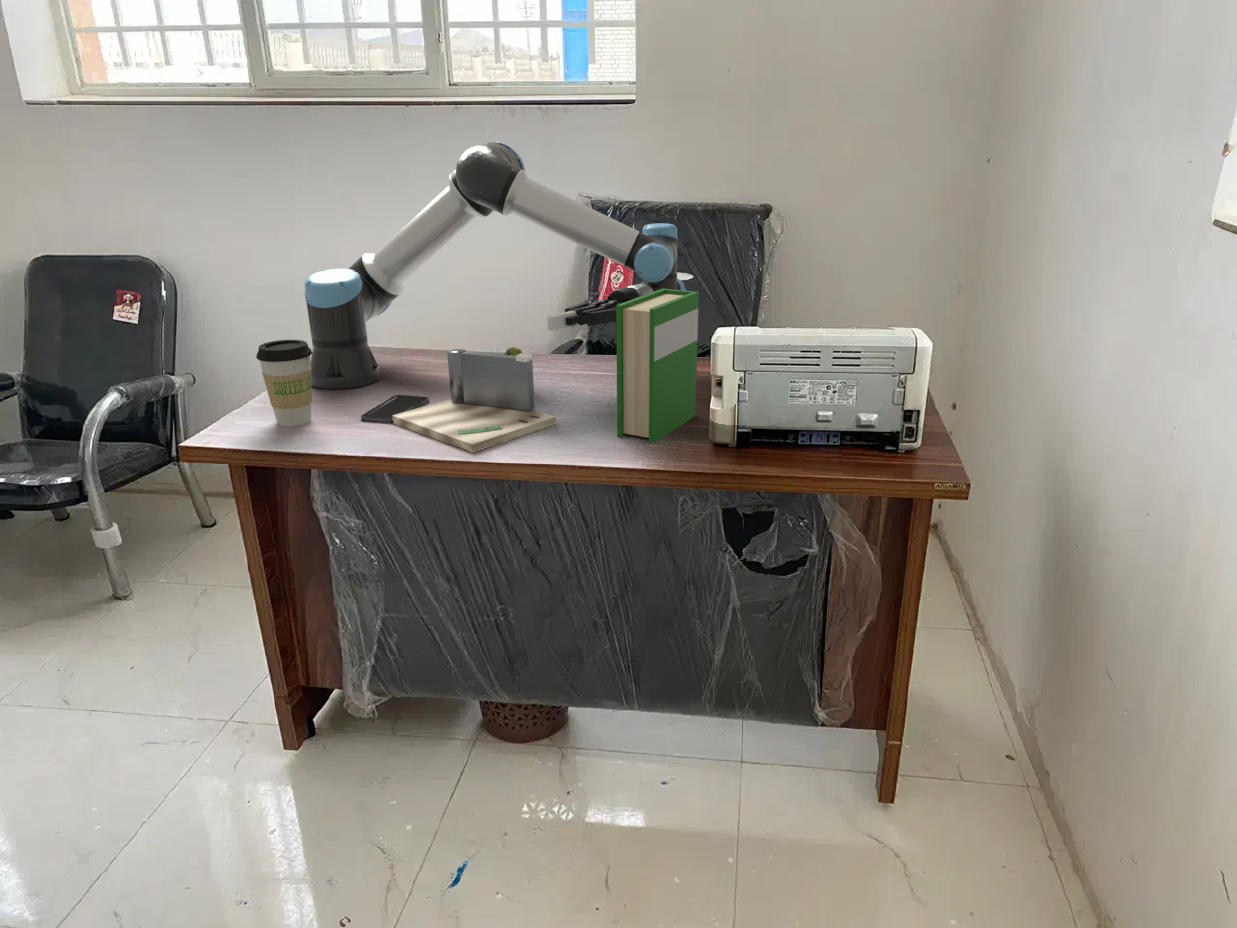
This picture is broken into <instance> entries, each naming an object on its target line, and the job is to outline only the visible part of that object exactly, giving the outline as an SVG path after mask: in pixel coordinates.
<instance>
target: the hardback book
mask: <svg viewBox="0 0 1237 928" xmlns="http://www.w3.org/2000/svg"><path fill="white" fill-rule="evenodd" d="M699 294H700V292H699V291H693V290H692V291H691V290H686V291H683V290H672V289H660V290H658V291H655V292H652V293H649V294H646V295H644V296H641V297H638V298H635V299H632V300H630V301H627V302H624V303H621V304H618V305H616V323H615V324H616V430H617V431H616V435H617V436H616V437H617V438H623V437H625V436H627V435H630V436H631V435H632V436H637V437H642V438H648V443H649V442H650V443H649V444H653V443H654V442H655V443H657V442H658V441H660V440H661V439H663V438H664V437H666V436H667V435H669V434H670V433H672V432H673V431H675V430H676V429H677V428H680V427H681V426H682V425H684V424H686V423H687V422H689V421H690V420H692V419H693V418H694V417H696V411H697V408H696V405H697V401H696V400H697V373H698V372H697V370H698V336H699V335H698V334H699V333H698V332H699V331H698V330H699V326H698V325H699V298H700V295H699ZM656 441H657V442H656ZM655 443H654V444H655Z"/></svg>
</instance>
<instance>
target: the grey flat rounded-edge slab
mask: <svg viewBox="0 0 1237 928" xmlns="http://www.w3.org/2000/svg"><path fill="white" fill-rule="evenodd" d="M447 365H448V377H449V379H448V380H449V388H450V399H451V402H453V403H471V404H479V405H487V406H495V407H503V408H511V409H518V410H526V411H530V410H534V409H535V390H534V389H535V388H534V369H533V368H534V365H533V354H531V353H523V352H522V353H520V354H518V355H516V356H513V355H504V354H503V353H501V354H500V353H494V352H493V353H492V352H483V351H473V350H466V349H463V348H453V349H449V350H447Z"/></svg>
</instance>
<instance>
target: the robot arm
mask: <svg viewBox="0 0 1237 928" xmlns="http://www.w3.org/2000/svg"><path fill="white" fill-rule="evenodd" d="M448 179H449V181H448V182H449V183H448V185H447V187H445V188H444V189H443V190H442V191H441V192H439V194H438V195H436V197H435V198H433V199H432V200H431V201H429V203H428V204H427V205H426V206H425V207H423V208H422V210H420V211H419V212H418V213H417V214H416V215H415V216H414V217H413V218H412V219H411V220H410V221H408V222H407V224H406V225H404V226H403V227H402V228H401V229H400V230H399V231H397V233H395V235H394V236H393V237H391V238H390V239H389V240H388V241H387V242H386V243H385V244H384V245H382V246H381V248H379V250H377V251H376V252H375V253H373V252H372V253H371V252H365V253H363V254H362V256H360V257H359V258H358V259H357V260H356V261H355V262H354V263H353V264H352V265H351V266H350V267H348V268H331V269H325V270H323V271H318V272H315V273H312V274H311V275H309V276H308V277H307V278H306V279H305V281H304V299H305V301H306V309H307V314H308V315H307V316H308V317H307V318H308V322H309V330H310V337H311V343H312V344H311V345H312V349H311V351H312V354H311V355H310V367H311V387H314V388H318V389H324V390H325V389H326V390H343V389H344V390H345V389H352V388H358V387H363V386H367V385H370V384H373V383H375V382H377V381H378V380H380V378H381V375H380V368H379V365H378V362H377V359H376V358H375V355H374V354H373V351H372V349H371V347H370V345H369V339H368V330H367V323H366V322H367V321H370V320H371V319H373V318H375V317H378V316H380V315H381V314H383V313H384V312H385V311H386V310H388V308H389V307H390V305H391V304H392V302H394V300H396V299H397V297H399V296H401V294H402V293H403V288H404V285H403V283H404V282H405V281H406V280H407V279H408V278H410V277H411V276H412V275H413V274H414V273H415V272H416V271H417V270H418V269H419V268H421V267H422V266H423V265H424V264H425V263H426V262H427V261H428V260H430V259H431V258H432V257H433V256H434V255H435V254H436V253H437V252H438V251H440V250H441V249H442V248H443V247H444V246H445V245H446V244H448V242H450V241H451V240H452V239H453V238H454V237H456V235H457V234H458V233H460V232H461V231H462V230H463V229H464V228H465V227H466V226H467V225H469V224H470V223H471V222H472V221H473V220H474V219H475V218H476V217H483V218H487V217H488V216H489V215H491V214H492V213H493V212H494V211H495V212H497V213H499V214H501V215H503V216H508V215H511V214H513V215H515V216H518V217H519V218H522V219H523V220H526V221H528V222H531V223H532V224H534V225H536V226H539V227H541V228H543V229H545V230H547V231H549V232H551V233H553V234H555V235H557V236H560V237H561V238H564V239H566V240H568V241H571V242H573V243H575V244H577V245H579V246H581V247H583V248H585V249H588V250H589V251H591V252H594V253H596V254H598V255H599V256H602V257H604V258H607V259H608V260H611V261H613V262H615V263H616V264H619V265H621V266H623V267H625V268H627V269H629V270H630V271H633V272H635V273H637V275H638V276H639V277H640V279H642V283H639V284H634V285H629V286H625V287H621V288H616V289H614V290H611V292H610V293H609V294H608V296H607V298H602V299H601V298H600V300H599V301H598V300H597V301H594V302H591V301H590V300H588V299H586V300H583V301H582V302H580V303H577V304H575V305H572V306H569V307H566V308H564V312H560V313H557V314H552V315H548V316H547V330H548V331H551V332H555V331H559V330H563V329H567V328H574V327H575V326H577V325H579V326H584V325H586V326H588V327H591V326H598V325H603V324H609V323H610V324H611V323H615V324H616V305H618V304H621V303H624V302H627V301H630V300H632V299H635V298H638V297H641V296H644V295H646V294H649V293H652V292H655V291H658V290H660V289H672V290H683V291H687V289H686V287H685V284H684V282H683V281H682V280H681V279H680V278H678V272H677V271H678V242H679V238H678V228H677V226H676V225H675V224H671V223H667V222H665V223H649V224H645V225H644V226H643V228H642V232H641V231H639V230H637V229H635V228H632V227H631V226H628V225H626V224H624V223H623V222H620V221H618V220H616V219H614V218H612V217H609V216H608V215H606V214H603V213H602V212H599V211H597V210H596V209H593V208H591V207H589V206H587V205H585V204H582V203H581V202H578V201H577V200H574V199H573V198H570V197H568V196H566V195H563V194H562V193H560V192H557V191H556V190H554V189H552V188H549V187H547V186H545V185H543V184H542V183H539V182H537V181H536V180H533V179H531V178H528V176H527V174H526V169H525V165H524V161H523V158H522V157H521V156H520V154H519V153H518V152H517V150H515V149H514V148H513V147H512V146H510V145H508V144H505V143H503V142H500V141H491V142H488V143H483V144H482V143H481V144H476V145H472V146H470V147H468V148H467V149H466V150H465V151H463V152H462V153H461V155H460V156H459V158H458V160H457V163H456V165H455V169H454V170H452V172H450V174H449V178H448Z"/></svg>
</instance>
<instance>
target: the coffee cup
mask: <svg viewBox="0 0 1237 928" xmlns="http://www.w3.org/2000/svg"><path fill="white" fill-rule="evenodd" d="M311 355H312V349H311V347H309V345H308V343H307V341H305V340H301V339H280V340H279V339H278V340H273V341H269V342H263V343H262V344H260V345H259V346H258V351H257V353H256V356H255V357H256V359H257V360H258V361H259V363H260V367H261V370H262V372H261V374H262V377H263V381H264V384H265V388H266V391H267V395H268V399H269V401H270V405H271V407H272V410H273V414H274V416H275V420H276V424H277V425H278V426H280V427H287V428H291V427H292V428H294V427H301V426H304V425H307V424H309V423H311V421H312V402H313V398H312V397H313V395H312V393H313V391H312V385H311V367H310V360H311Z"/></svg>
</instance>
